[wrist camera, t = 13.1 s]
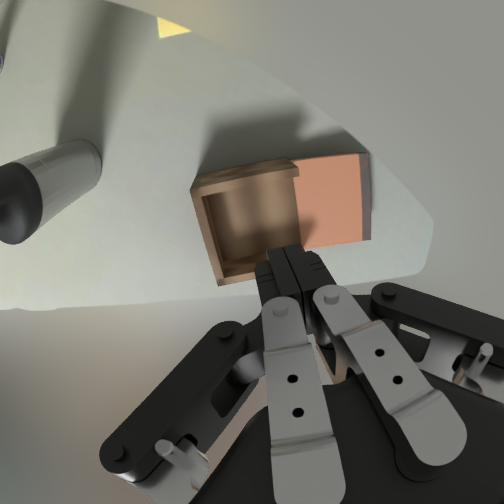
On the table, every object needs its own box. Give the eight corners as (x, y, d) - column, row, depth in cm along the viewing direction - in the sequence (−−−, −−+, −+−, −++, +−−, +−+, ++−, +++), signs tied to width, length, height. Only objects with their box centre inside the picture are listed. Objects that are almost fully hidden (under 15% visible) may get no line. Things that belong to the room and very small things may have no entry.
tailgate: (302, 249, 45) (370, 239, 44) (290, 161, 38) (368, 153, 37) (301, 245, 46) (368, 236, 45) (289, 160, 39) (365, 152, 38)
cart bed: (218, 259, 48) (218, 286, 41) (195, 176, 41) (189, 190, 34) (298, 242, 48) (310, 266, 41) (285, 157, 41) (298, 167, 34)
